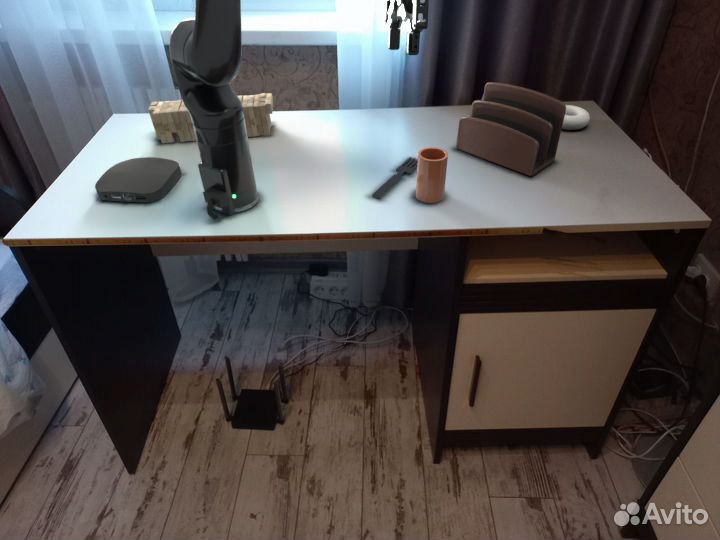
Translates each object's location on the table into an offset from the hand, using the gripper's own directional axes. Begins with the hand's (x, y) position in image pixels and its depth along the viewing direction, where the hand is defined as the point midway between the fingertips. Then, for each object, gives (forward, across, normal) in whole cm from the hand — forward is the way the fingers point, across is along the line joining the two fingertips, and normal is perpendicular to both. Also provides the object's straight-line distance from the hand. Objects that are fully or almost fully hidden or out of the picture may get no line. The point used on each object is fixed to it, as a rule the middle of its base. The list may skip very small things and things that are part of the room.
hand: (402, 52), depth 97 cm
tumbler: (+26, +10, +2) cm, 28 cm away
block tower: (+22, -36, -33) cm, 54 cm away
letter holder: (+22, +2, +26) cm, 34 cm away
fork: (+25, +2, -1) cm, 25 cm away
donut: (+19, -6, +49) cm, 53 cm away
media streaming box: (+27, -17, -52) cm, 61 cm away
